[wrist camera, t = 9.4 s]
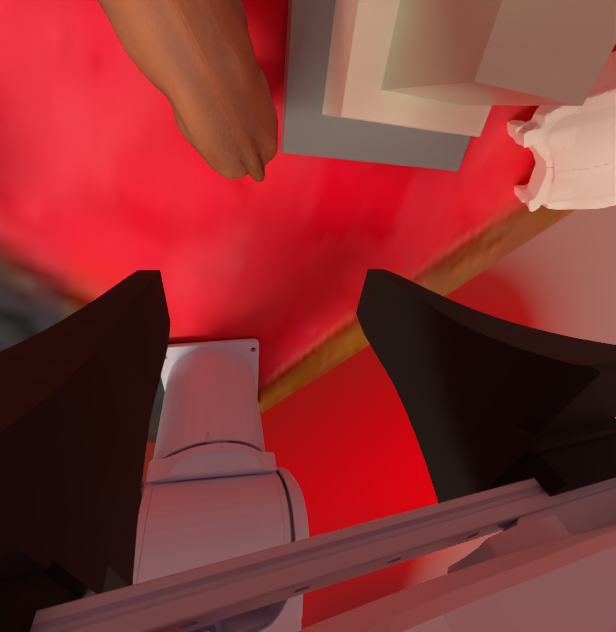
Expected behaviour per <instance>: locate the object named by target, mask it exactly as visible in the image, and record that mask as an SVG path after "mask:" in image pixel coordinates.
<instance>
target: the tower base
mask: <svg viewBox="0 0 616 632" xmlns="http://www.w3.org/2000/svg"><path fill="white" fill-rule="evenodd" d="M399 2H400V0H288V16H287V34H286V53H285V71H284V90H283V108H282V126H281V145H280V151H282V152H283V153H290V154H299V155H309V156H318V157H328V158H337V159H347V160H356V161H366V162H375V163H384V164H394V165H403V166H413V167H422V168H432V169H441V170H451V171H458V170H459V167H460V165H461V162H462V159H463V157H464V154H465V151H466V149H467V146H468V143H469V141H470V138H471V136H475V137H480V135H481V133H482V130H483V128H484V125H485V123H486V120H487V117H488V115H489V112H490V110H491V107H492V105H458V104H452V103H447V102H442V101H437V100H431V99H426V98H421V97H416V96H410V95H405V94H400V93H395V92H390V91H384V90H381V87H382V83H383V78H384V73H385V68H386V63H387V59H388V54H389V49H390V44H391V40H392V35H393V30H394V25H395V21H396V16H397V11H398V6H399Z"/></svg>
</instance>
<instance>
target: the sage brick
mask: <svg viewBox="0 0 616 632" xmlns="http://www.w3.org/2000/svg"><path fill="white" fill-rule="evenodd" d="M615 44H616V0H400V2H399V6H398V11H397V16H396V21H395V25H394V30H393V35H392V40H391V44H390V49H389V54H388V59H387V63H386V68H385V73H384V78H383V83H382V87H381V90H384V91H390V92H395V93H400V94H405V95H410V96H416V97H421V98H426V99H431V100H437V101H442V102H447V103H452V104H458V105H510V106H583V104H584V102H585V100H586V98H587V96H588V94H589V93H590V91H591V89H592V87H593V85H594V83H595V82H596V80H597V78H598V76H599V74H600V72H601V70H602V69H603V67H604V65H605V63H606V61H607V59H608V57H609V56H610V54H611V52H612V50H613V48H614V46H615Z"/></svg>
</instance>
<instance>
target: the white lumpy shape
mask: <svg viewBox="0 0 616 632" xmlns="http://www.w3.org/2000/svg"><path fill="white" fill-rule="evenodd" d="M507 128H508V135H509V136H511V137H513V139H514V140H515V142H516V143H517V144H520V145H522V146H523V147H524V148H526V147H528V148H529V149H530V150H531V152H533V155H534V159H535V162H536V164H535V167H534V169H533V172H532V174H531V177H530V181H529V183H528V184H526V185H515V186H514V189H515V195H516V196H517V197H518V198H519V199H520V201H521V202H522V203H524V202H525V203H526V205H527V207H528V209H529V210H530V211H532V212H533V211H535V210H537V209H538V208H539V207H540V206H541V205H543V206H545V207H546V208H548V209H555V210H565V209H599V208H606V207H609V206H615V205H616V51H614V52H612V53H611V54H610V56H609V57H608V59H607V61H606V63H605V65H604V67H603V69H602V70H601V72H600V74H599V76H598V78H597V80H596V82H595V83H594V85H593V87H592V89H591V91H590V93H589V94H588V96H587V98H586V100H585V102H584V104H583V106H539V107H538V108H537V110H536V111H535V113H534V115H533V117H532V119H531V120H530V121H528V122H524V121H521V120H520V121H518V120H510V121H508V122H507Z"/></svg>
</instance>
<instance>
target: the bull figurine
mask: <svg viewBox="0 0 616 632" xmlns="http://www.w3.org/2000/svg"><path fill="white" fill-rule="evenodd" d="M98 1H99V3H100V5H101V7H102V8H103V10H104V12H105V13H106V15H107V17H108V19H109V21H110V23H111V25H112V27H113V29H114V31H115V33H116V35H117V37H118V38H119V40H120V42H121V44H122V45H123V47H124V49H125V51H126V52H127V54H128V55H129V56H130V58H131V59H132V61H133V62H134V63H135V64H136V66H137V67H138V68H139V69H140V70H141V72H142V73H143V74H144V75H145V76H146V78H147V79H148V80H149V81H150V82H151V83H152V84H153V85H154V86H155V87H156V88H158V89H159V90H160V91H161V92H162V93H163V94H164V95H165V96H166V97H167V98H168V100H169V101H170V103H171V105H172V108H173V112H174V116H175V120H176V123H177V125H178V127H179V129H180V131H181V133H182V134H183V135H184V137H185V138H186V139H187V141H188V142H189V143H190V144H191V145H192V146H193V147H194V148H195V149H196V150H197V151H198V153H199V154H200V155H201V156H202V157H203V158H204V160H205V161H206V162H207V164H208V165H209V166H210V167H211V168H213V169H214V170H215V171H216V172H217V173H219V174H220V175H221V176H223V177H225V178H228V179H238V178H242V177H244V176H246V175H247V174H248V173H249V174H250V175H251V177H252V178H253V179H254V180H255V181H256V182H261V181H263V180H264V177H265V165H266V164H267V163H268V162H269V161H271V160H272V159H273V158H274V157H275V155H276V152H277V145H278V118H277V113H276V109H275V107H274V104H273V101H272V98H271V94H270V89H269V85H268V82H267V79H266V77H265V75H264V73H263V71H262V69H261V67H260V66H259V65H258V63H257V62H256V59H255V54H254V50H253V46H252V43H251V39H250V36H249V32H248V25H247V19H246V14H245V9H244V6H243V3H242V0H98Z"/></svg>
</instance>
